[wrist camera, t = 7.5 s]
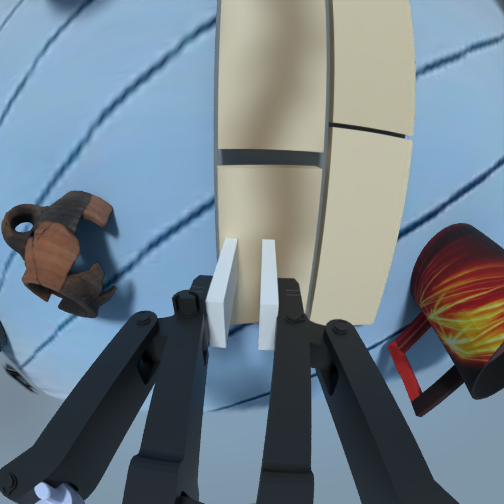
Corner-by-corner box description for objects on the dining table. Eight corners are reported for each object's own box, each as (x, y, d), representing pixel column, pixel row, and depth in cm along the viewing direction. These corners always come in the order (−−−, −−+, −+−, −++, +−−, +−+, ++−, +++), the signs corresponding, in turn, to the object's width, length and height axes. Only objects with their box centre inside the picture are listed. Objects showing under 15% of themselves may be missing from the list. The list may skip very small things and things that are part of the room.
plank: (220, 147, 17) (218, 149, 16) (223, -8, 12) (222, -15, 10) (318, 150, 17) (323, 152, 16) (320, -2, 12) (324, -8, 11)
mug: (382, 341, 25) (419, 438, 15) (429, 215, 19) (525, 297, 9) (447, 337, 26) (489, 413, 15) (494, 230, 19) (571, 294, 9)
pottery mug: (148, 214, 21) (113, 311, 16) (122, 257, 27) (98, 329, 23) (28, 153, 15) (-28, 237, 11) (31, 211, 22) (-3, 279, 17)
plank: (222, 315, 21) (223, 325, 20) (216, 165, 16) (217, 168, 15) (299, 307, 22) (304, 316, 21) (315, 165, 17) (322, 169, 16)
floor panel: (221, 307, 24) (218, 323, 22) (220, -13, 12) (215, -26, 10) (365, 308, 23) (372, 324, 21) (396, 9, 12) (409, 0, 10)
